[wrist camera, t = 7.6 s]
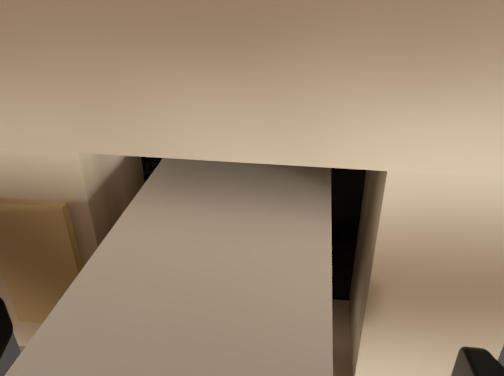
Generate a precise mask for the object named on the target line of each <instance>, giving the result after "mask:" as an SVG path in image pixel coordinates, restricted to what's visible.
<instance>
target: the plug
mask: <svg viewBox="0 0 504 376" xmlns="http://www.w3.org/2000/svg"><path fill="white" fill-rule="evenodd" d="M5 376H333V328H332V220H331V168H325V167H308V166H291V165H274V164H257V163H240V162H223V161H206V160H189V159H172V158H163V159H162V160H161V162H160V163H159V164H158V166H157V167H156V168H155V170H154V171H153V173H152V174H151V175H150V177H149V178H148V179H147V181H146V182H145V184H144V185H143V186H142V188H141V189H140V190H139V192H138V193H137V195H136V196H135V197H134V199H133V200H132V201H131V203H130V204H129V206H128V207H127V208H126V210H125V211H124V212H123V214H122V215H121V216H120V218H119V219H118V221H117V222H116V223H115V225H114V226H113V227H112V229H111V230H110V232H109V233H108V234H107V236H106V237H105V238H104V240H103V241H102V243H101V244H100V245H99V247H98V248H97V249H96V251H95V252H94V254H93V255H92V256H91V258H90V259H89V260H88V262H87V263H86V265H85V266H84V267H83V269H82V270H81V271H80V273H79V274H78V276H77V277H76V278H75V280H74V281H73V282H72V284H71V285H70V287H69V288H68V289H67V291H66V292H65V293H64V295H63V296H62V298H61V299H60V300H59V302H58V303H57V304H56V306H55V307H54V308H53V310H52V311H51V313H50V314H49V315H48V317H47V318H46V319H45V321H44V322H43V324H42V325H41V326H40V328H39V329H38V330H37V332H36V333H35V335H34V336H33V337H32V339H31V340H30V341H29V343H28V344H27V346H26V347H25V348H24V350H23V351H22V352H21V354H20V355H19V357H18V358H17V359H16V361H15V362H14V363H13V365H12V366H11V368H10V369H9V370H8V372H7V373H6V374H5Z"/></svg>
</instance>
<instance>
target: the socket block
mask: <svg viewBox="0 0 504 376" xmlns="http://www.w3.org/2000/svg"><path fill="white" fill-rule="evenodd" d="M141 157H156V158H172V159H189V160H206V161H223V162H240V163H257V164H274V165H291V166H308V167H325V168H342V169H359V170H366V174H365V181H364V189H363V197H362V204H361V212H360V219H359V227H358V235H357V242H356V250H355V257H354V265H353V273H352V280H351V288H350V295H349V301H347V300H337V299H332V328H333V376H451V374H452V371H453V367H454V364H455V361H456V358H457V355H458V352H459V350H460V348H461V347H464V346H467V347H476V348H483V349H486V350H487V351H489V352H490V353H491V354H492V355H493V357H494V358H495V359H496V360H498V358H499V355H500V353H501V350H502V347H503V345H504V0H0V297H1V298H2V299H3V300H4V302H5V305H6V308H7V310H8V313H9V316H10V318H11V321H12V324H13V333H14V335H15V338H16V340H17V343H18V346H19V348H20V351H21V352H22V351H23V350H24V348H25V347H26V346H27V344H28V343H29V341H30V340H31V339H32V337H33V336H34V335H35V333H36V332H37V330H38V329H39V328H40V326H41V325H42V324H43V322H44V321H45V319H46V318H47V317H48V315H49V314H50V313H51V311H52V310H53V308H54V307H55V306H56V304H57V303H58V302H59V300H60V299H61V298H62V296H63V295H64V293H65V292H66V291H67V289H68V288H69V287H70V285H71V284H72V282H73V281H74V280H75V278H76V277H77V276H78V274H79V273H80V271H81V270H82V269H83V267H84V266H85V265H86V263H87V262H88V260H89V259H90V258H91V256H92V255H93V254H94V252H95V251H96V249H97V248H98V247H99V245H100V244H101V243H102V241H103V240H104V238H105V237H106V236H107V234H108V233H109V232H110V230H111V229H112V227H113V226H114V225H115V223H116V222H117V221H118V219H119V218H120V216H121V215H122V214H123V212H124V211H125V210H126V208H127V207H128V206H129V204H130V203H131V201H132V200H133V199H134V197H135V196H136V195H137V193H138V192H139V190H140V189H141V188H142V186H143V185H144V184H145V180H144V173H143V166H142V159H141Z"/></svg>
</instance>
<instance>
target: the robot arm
mask: <svg viewBox="0 0 504 376" xmlns="http://www.w3.org/2000/svg"><path fill="white" fill-rule="evenodd" d="M12 332H13V324H12V321H11V318H10V316H9V313H8V310H7V308H6V305H5V302H4V300H3V299H2V298H1V297H0V358H1V356H2V354H3V352H4V350H5V348H6V346H7V344H8V342H9V340H10V338H11V336H12ZM451 376H504V367H503V366H502V365H501V364H500V363H499V362H498V361H497V360H496V359H495V358H494V357H493V355H492V354H491V353H490V352H489V351H487V350H486V349H483V348H476V347H467V346H464V347H461V348H460V350H459V352H458V355H457V358H456V361H455V364H454V367H453V371H452V374H451Z"/></svg>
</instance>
